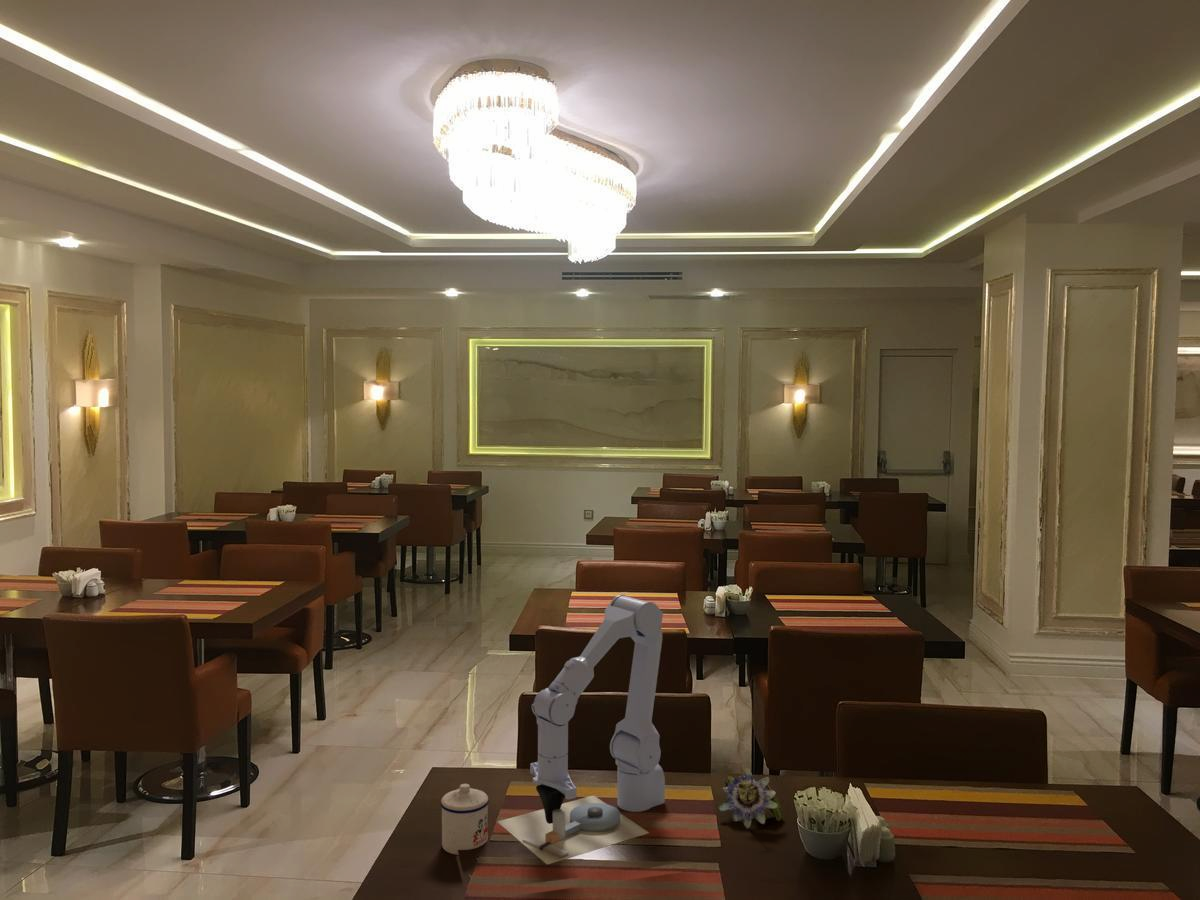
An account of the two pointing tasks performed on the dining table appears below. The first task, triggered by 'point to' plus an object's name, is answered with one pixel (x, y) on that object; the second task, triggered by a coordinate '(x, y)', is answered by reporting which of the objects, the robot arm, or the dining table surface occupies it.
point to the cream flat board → (535, 827)
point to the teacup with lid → (464, 819)
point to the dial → (583, 820)
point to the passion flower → (749, 799)
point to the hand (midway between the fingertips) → (552, 821)
